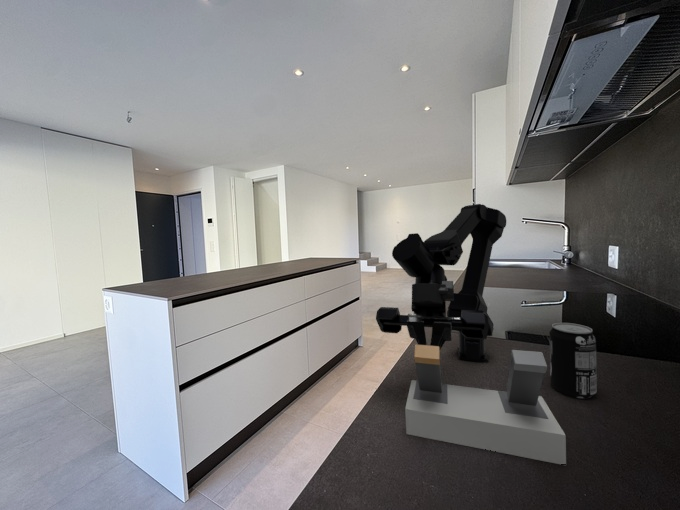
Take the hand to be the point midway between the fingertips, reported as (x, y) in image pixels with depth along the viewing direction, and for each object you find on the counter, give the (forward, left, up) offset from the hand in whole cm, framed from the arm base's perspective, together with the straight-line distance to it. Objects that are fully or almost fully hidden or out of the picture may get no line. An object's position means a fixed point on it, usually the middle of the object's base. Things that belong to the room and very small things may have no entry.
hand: (428, 369), depth 44 cm
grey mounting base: (0, +7, -8) cm, 11 cm away
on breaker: (-1, +13, -4) cm, 14 cm away
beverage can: (-16, +25, -9) cm, 31 cm away
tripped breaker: (-1, 0, -4) cm, 4 cm away
